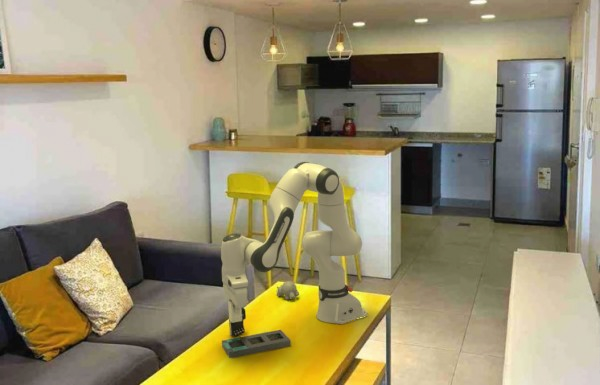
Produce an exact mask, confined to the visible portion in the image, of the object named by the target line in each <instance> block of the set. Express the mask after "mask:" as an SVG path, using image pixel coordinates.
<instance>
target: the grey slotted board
mask: <svg viewBox="0 0 600 385" xmlns="http://www.w3.org/2000/svg"><path fill="white" fill-rule="evenodd" d="M291 342H292V340H291V339H290V338H289V336H288V335H287V334H286V333H285V332H284V331H283V330H282V329H277V330H272V331H267V332H261V333H256V334H251V335H244V336H238V337H237V336H236V337H232V338H227V339H224V340H221V347H222V349H223V350H224V352H225V355H227V357H228V358H229V359H232V358H238V357H239V358H240V357H243V356H247V355H254V354H258V353H259V354H260V353H263V352H267V351H268V352H269V351H272V350H278V349H283V348H287V347H291V344H292V343H291Z"/></svg>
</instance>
